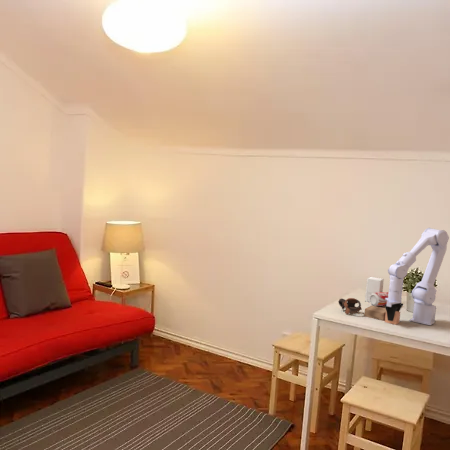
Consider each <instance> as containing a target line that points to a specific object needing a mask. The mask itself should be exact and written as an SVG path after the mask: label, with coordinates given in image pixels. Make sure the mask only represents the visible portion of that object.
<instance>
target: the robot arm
mask: <svg viewBox="0 0 450 450" xmlns="http://www.w3.org/2000/svg"><path fill="white" fill-rule="evenodd" d="M420 236H421V237H420V238H419V239H418V241H416V242H415V243H416V244H414V246H413V247H412V248H411V250H410V251H406V252H403V253H402V256H401V257H399V259H398V260H396V262H395V263H393V264H391V265H390V266H389V268H388V269H387V273H388V275H389V285H388V292H389V293H388V298H385V300H387V304H385V306H384V308H385V309H386V311H387V318H388V320H389V321H393V319H394V315H395V312H396V311H398V312H401V309H402V307H403V306H404V304H403V303H402V300H403V299H402V295H403V285H404V278H405V277H407V274H408V271H409V269H410V267H412V265H413V264H415V263H416V261H417V256H418V255H419V254H421V253H422V251H424V250H425V249H426V248H427V247H428V246H430V247H431V249H432V251H431V254H430V257H429V260H428V262H427V265H426V268H425V271H424V274H423V276H422V278H421V281H419V282H417V283H416V284H415V286H414V288H413V289H412V291H411V297H412V300H413V302H414V303H413V309H412V310H413V312H412V318H410V319H409V321H410V322H414V323H417V324H422V325H426V326H427V325H428V326H432V325H433V324H434V323H436V312H437V307H436V305H435V304H433V303H435V301H436V298H437V297H436V295H437V289H436V287H435V283H436V280H437V277H438V274H439V271H440V269H441V266H442V263H443V260H444V257H445V255H446V252H447V247H448V242H449V240H450V236H449V234H448V232H447V231H446V230H444V229H436V228H431V227H427V228H425V229H424V231H423V232H422V233H421V235H420Z"/></svg>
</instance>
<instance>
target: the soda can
mask: <svg viewBox="0 0 450 450" xmlns="http://www.w3.org/2000/svg"><path fill="white" fill-rule="evenodd" d="M388 293H389V291H385V292H378V293H372V294H371V296H370V302H369V303H370V304H371V306H376V307H385V304H387V300H385V298H388Z"/></svg>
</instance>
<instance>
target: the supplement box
mask: <svg viewBox="0 0 450 450" xmlns="http://www.w3.org/2000/svg"><path fill="white" fill-rule="evenodd" d="M384 281H385V279H384V278H383V277H382V278H380V277H375V276H370V277H367V278H366V286H365V287H366V288H365V302H369V303H371V302H370V296H371V294H372V293H378V292H383V290H384Z"/></svg>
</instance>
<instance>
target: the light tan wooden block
mask: <svg viewBox="0 0 450 450" xmlns="http://www.w3.org/2000/svg"><path fill="white" fill-rule="evenodd" d="M363 314H364V315H363V316H364V317H366V318H368V319H369V318H370V319H374V320H377V321H378V320H379V321H385V315H386V309H385V307H382V306H373V305H370V306H368V307H366V308H364V313H363Z"/></svg>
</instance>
